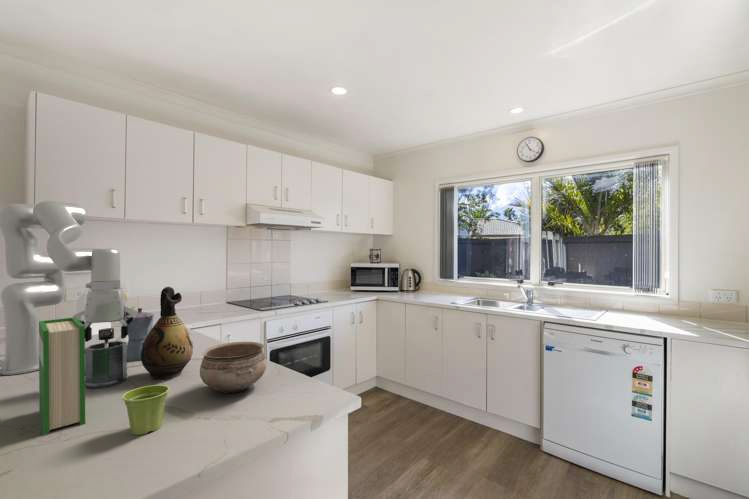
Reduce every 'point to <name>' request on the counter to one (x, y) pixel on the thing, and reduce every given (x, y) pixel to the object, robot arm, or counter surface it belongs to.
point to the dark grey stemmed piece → (106, 335)
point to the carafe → (105, 365)
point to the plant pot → (145, 407)
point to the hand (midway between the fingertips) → (106, 339)
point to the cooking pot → (233, 366)
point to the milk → (81, 307)
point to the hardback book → (61, 373)
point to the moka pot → (138, 333)
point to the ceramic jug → (167, 341)
